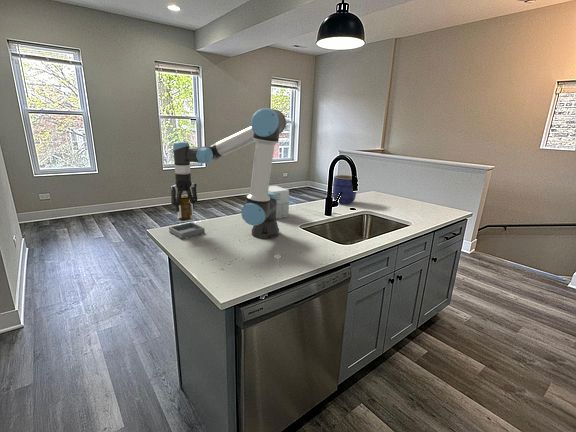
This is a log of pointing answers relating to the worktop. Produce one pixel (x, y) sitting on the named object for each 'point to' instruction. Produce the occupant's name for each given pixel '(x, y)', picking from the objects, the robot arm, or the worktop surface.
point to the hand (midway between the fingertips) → (185, 216)
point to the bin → (186, 230)
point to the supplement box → (281, 200)
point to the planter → (343, 189)
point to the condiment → (185, 209)
